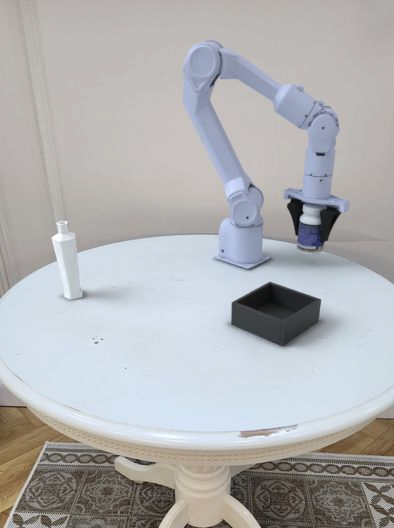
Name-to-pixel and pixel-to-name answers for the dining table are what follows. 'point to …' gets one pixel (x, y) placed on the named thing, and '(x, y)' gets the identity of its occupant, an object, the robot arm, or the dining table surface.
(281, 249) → the dining table surface
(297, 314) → the basket
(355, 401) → the dining table surface
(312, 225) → the pill bottle
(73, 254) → the perfume bottle
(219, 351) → the dining table surface
